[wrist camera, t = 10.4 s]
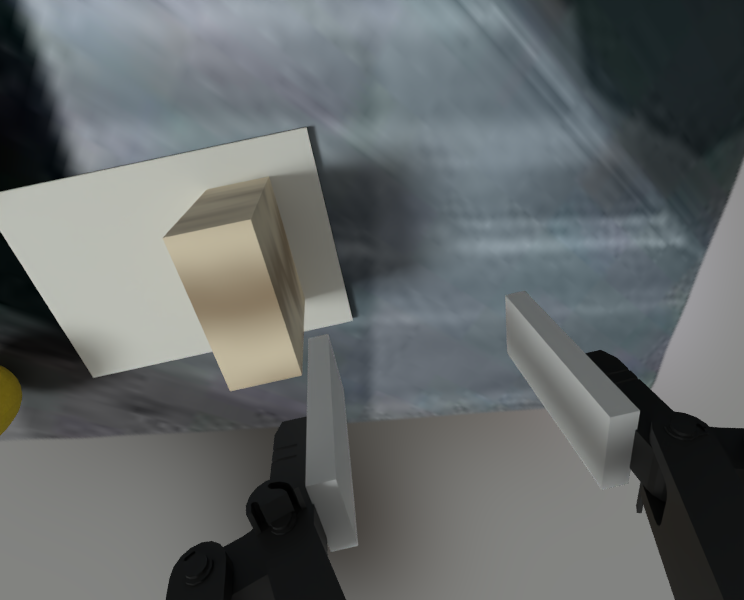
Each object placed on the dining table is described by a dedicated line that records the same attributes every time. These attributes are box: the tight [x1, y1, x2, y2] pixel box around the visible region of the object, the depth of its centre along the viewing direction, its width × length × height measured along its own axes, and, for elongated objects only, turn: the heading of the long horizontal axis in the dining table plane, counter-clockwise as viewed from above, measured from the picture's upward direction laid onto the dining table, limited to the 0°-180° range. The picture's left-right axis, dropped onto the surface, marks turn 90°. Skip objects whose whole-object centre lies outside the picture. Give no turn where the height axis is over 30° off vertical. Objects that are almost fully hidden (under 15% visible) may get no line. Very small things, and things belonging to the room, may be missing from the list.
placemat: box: [0, 127, 353, 378], centre depth 29 cm, size 20×14×1 cm
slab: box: [163, 177, 305, 391], centre depth 25 cm, size 9×4×9 cm, turn 10°
